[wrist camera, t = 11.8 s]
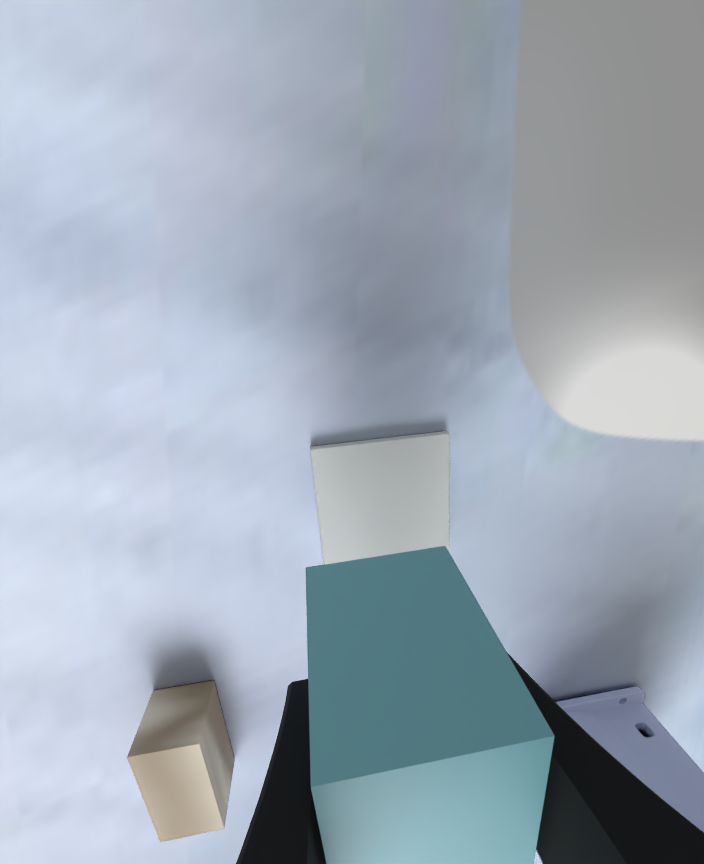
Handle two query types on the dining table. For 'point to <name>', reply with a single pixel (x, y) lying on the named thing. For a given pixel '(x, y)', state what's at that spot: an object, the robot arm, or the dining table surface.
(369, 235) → the dining table surface
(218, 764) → the channel
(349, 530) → the mat
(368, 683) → the plug
